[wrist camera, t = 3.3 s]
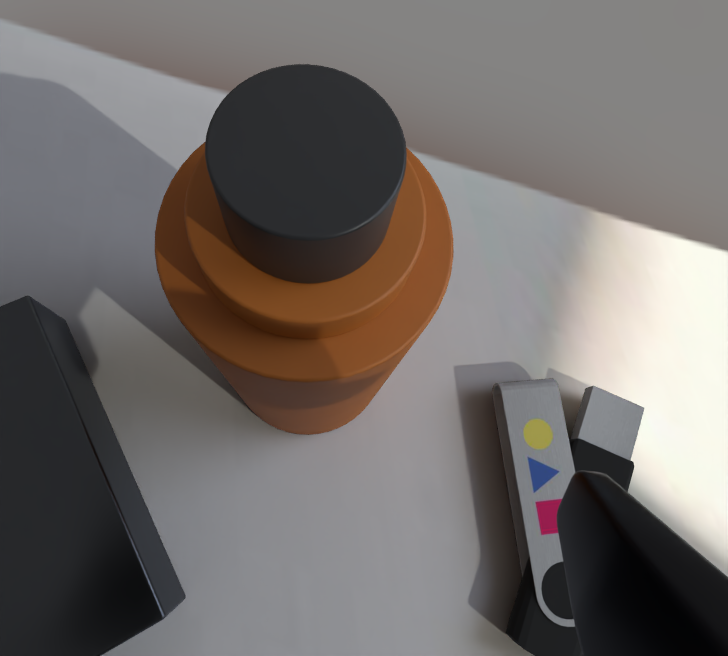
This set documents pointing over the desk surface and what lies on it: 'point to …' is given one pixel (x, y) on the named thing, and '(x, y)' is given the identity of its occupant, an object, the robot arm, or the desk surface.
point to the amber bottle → (304, 245)
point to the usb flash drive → (554, 493)
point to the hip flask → (68, 504)
